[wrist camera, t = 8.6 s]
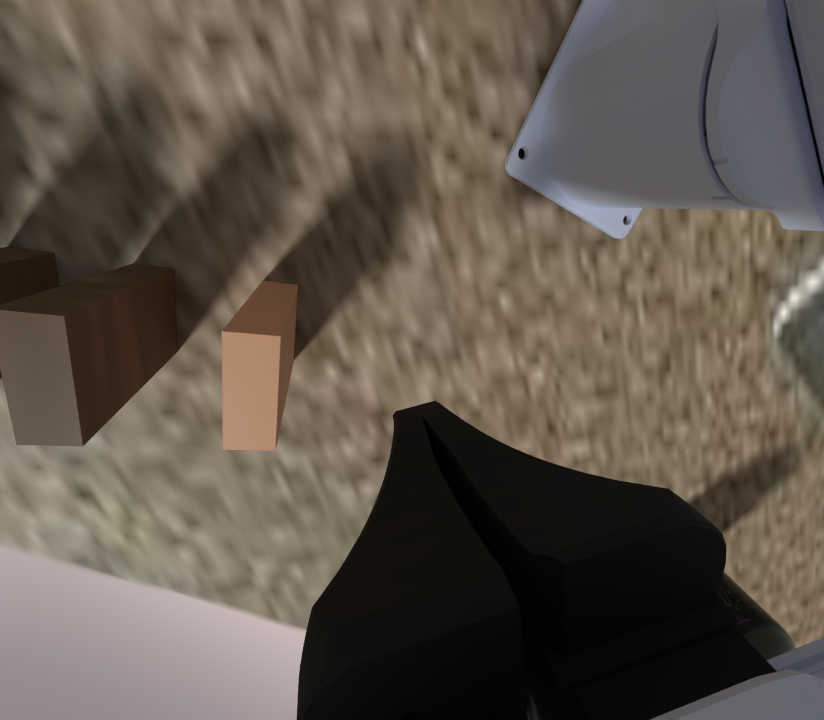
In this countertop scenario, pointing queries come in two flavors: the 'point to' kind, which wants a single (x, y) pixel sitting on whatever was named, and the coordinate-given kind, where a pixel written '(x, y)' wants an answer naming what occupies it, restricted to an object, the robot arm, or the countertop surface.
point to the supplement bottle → (754, 621)
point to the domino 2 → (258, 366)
